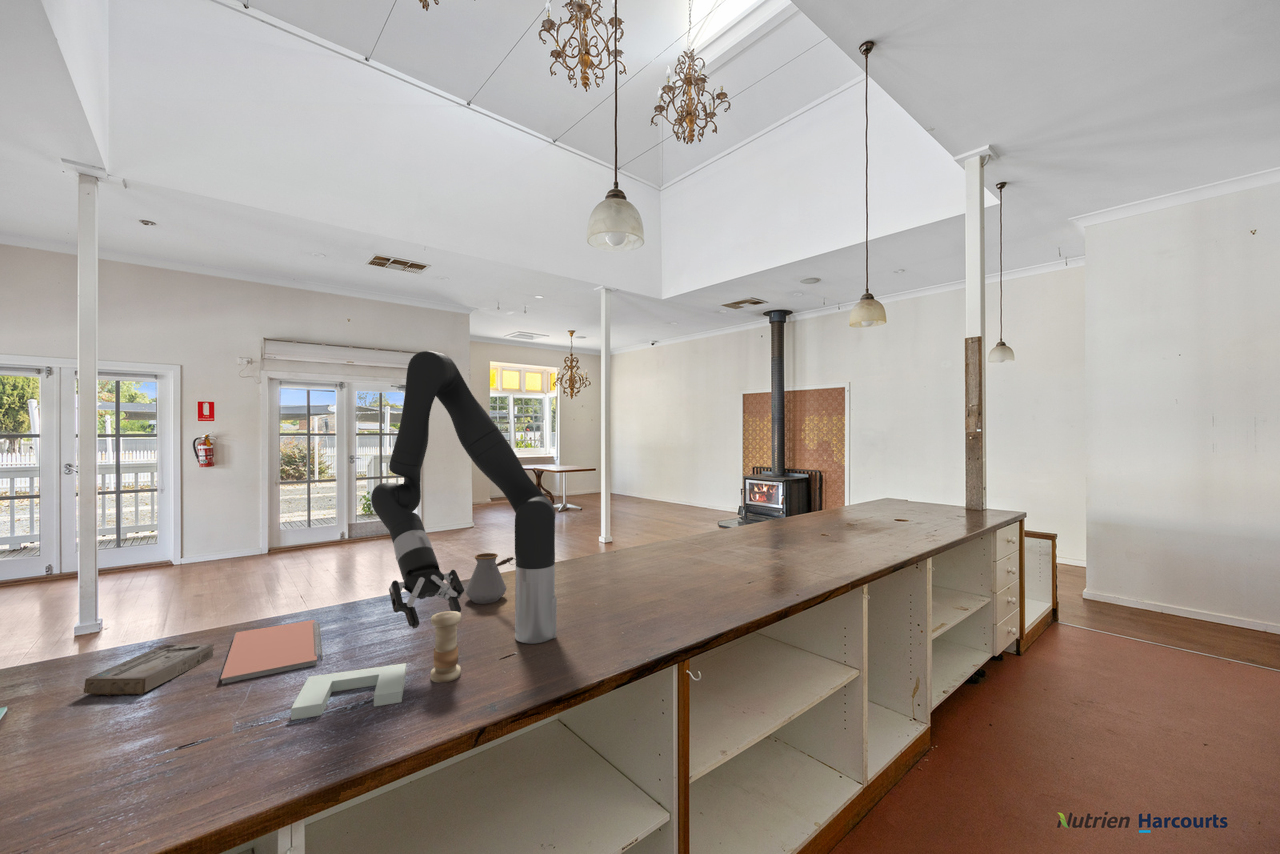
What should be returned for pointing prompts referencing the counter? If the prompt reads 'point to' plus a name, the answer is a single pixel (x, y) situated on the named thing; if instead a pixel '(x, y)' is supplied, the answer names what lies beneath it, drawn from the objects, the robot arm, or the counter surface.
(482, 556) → the coffee pot
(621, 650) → the counter surface
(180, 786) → the counter surface
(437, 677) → the bobbin
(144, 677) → the box
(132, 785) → the counter surface
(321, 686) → the notched board
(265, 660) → the notebook
